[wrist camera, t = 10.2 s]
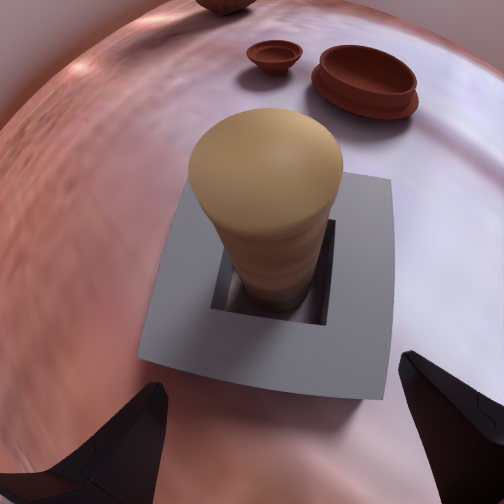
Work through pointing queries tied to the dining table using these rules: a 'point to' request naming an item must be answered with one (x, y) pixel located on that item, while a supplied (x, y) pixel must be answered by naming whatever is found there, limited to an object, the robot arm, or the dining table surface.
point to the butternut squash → (224, 5)
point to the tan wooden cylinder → (269, 198)
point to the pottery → (348, 77)
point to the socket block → (272, 330)
